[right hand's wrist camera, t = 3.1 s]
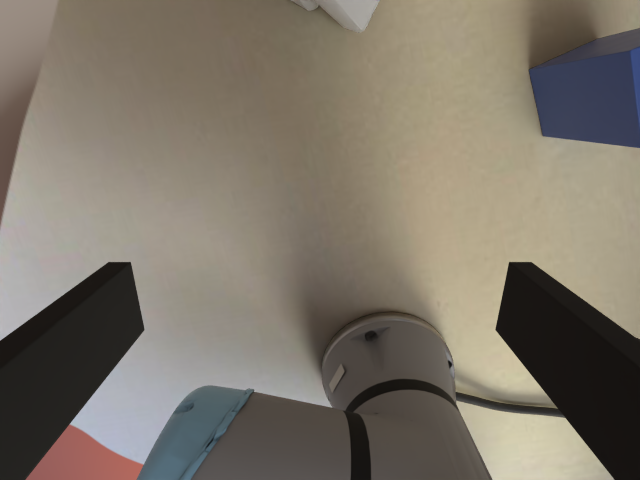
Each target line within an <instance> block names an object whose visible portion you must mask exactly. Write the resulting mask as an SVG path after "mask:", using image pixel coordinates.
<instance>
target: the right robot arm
mask: <svg viewBox="0 0 640 480" xmlns="http://www.w3.org/2000/svg"><path fill="white" fill-rule="evenodd" d="M143 331H144V325H143V320H142V315H141V310H140V305H139V300H138V296H137V291H136V286H135V281H134V276H133V271H132V266H131V262H108V263H107V264H106V265H104V266H103V267H101V268H100V269H99V270H97V271H96V272H94V273H93V274H92V275H90V276H89V277H88V278H86V279H85V280H83V281H82V282H81V283H79V284H78V285H77V286H75V287H74V288H72V289H71V290H70V291H68V292H67V293H66V294H64V295H63V296H61V297H60V298H59V299H57V300H56V301H54V302H53V303H52V304H50V305H49V306H48V307H46V308H45V309H43V310H42V311H41V312H39V313H38V314H37V315H35V316H34V317H32V318H31V319H30V320H28V321H27V322H26V323H24V324H23V325H21V326H20V327H19V328H17V329H16V330H14V331H13V332H12V333H10V334H9V335H8V336H6V337H5V338H3V339H2V340H1V341H0V480H25V479H26V478H27V477H28V476H29V474H30V473H31V472H32V471H33V469H34V468H35V467H36V466H37V464H38V463H39V462H40V460H41V459H42V458H43V457H44V455H45V454H46V453H47V452H48V450H49V449H50V448H51V447H52V445H53V444H54V443H55V442H56V440H57V439H58V438H59V437H60V435H61V434H62V433H63V432H64V430H65V429H66V428H67V427H68V425H69V424H70V423H71V422H72V420H73V419H74V418H75V416H76V415H77V414H78V413H79V411H80V410H81V409H82V408H83V406H84V405H85V404H86V403H87V401H88V400H89V399H90V398H91V396H92V395H93V394H94V393H95V391H96V390H97V389H98V388H99V386H100V385H101V384H102V383H103V381H104V380H105V379H106V377H107V376H108V375H109V374H110V372H111V371H112V370H113V369H114V367H115V366H116V365H117V364H118V362H119V361H120V360H121V359H122V357H123V356H124V355H125V354H126V352H127V351H128V350H129V349H130V347H131V346H132V345H133V344H134V342H135V341H136V340H137V339H138V337H139V336H140V335H141V333H142V332H143ZM496 331H497V332H498V333H499V335H500V336H501V337H502V339H503V340H504V341H505V342H506V344H507V345H508V346H509V347H510V349H511V350H512V351H513V352H514V354H515V355H516V356H517V357H518V359H519V360H520V361H521V362H522V364H523V365H524V366H525V367H526V369H527V370H528V371H529V372H530V374H531V375H532V376H533V377H534V379H535V380H536V381H537V383H538V384H539V385H540V386H541V388H542V389H543V390H544V391H545V393H546V394H547V395H548V396H549V398H550V399H551V400H552V401H553V403H554V404H555V405H556V406H557V408H558V409H556V408H546V407H534V406H522V405H512V404H505V403H499V402H494V401H489V400H486V399H482V398H478V397H474V396H470V395H466V394H462V393H458V392H455V381H454V378H455V373H454V364H453V359H452V356H451V353H450V351H449V349H448V347H447V345H446V343H445V341H444V340H443V338H442V336H441V335H440V334H439V333H438V331H437V330H436V329H435V328H433V327H432V326H431V325H430V324H428V323H427V322H425V321H423V320H422V319H419V318H417V317H414V316H412V315H408V314H403V313H396V312H384V313H376V314H371V315H367V316H364V317H361V318H359V319H357V320H355V321H353V322H351V323H349V324H348V325H346V326H345V327H343V328H342V329H341V330H340V331H339V332H338V333H337V334H336V335H335V336H334V337H333V338H332V340H331V341H330V343H329V344H328V346H327V348H326V350H325V353H324V356H323V361H322V382H323V387H324V390H325V393H326V396H327V398H328V400H329V402H330V404H331V406H332V407H333V408H330V407H325V406H321V405H316V404H311V403H306V402H301V401H296V400H291V399H286V398H281V397H276V396H271V395H267V394H262V393H257V392H254V389H250V388H249V389H247V390H239V389H232V388H225V387H218V386H204V387H200V388H198V389H196V390H194V391H193V392H191V393H190V394H189V395H188V396H187V397H186V398H185V399H184V400H183V401H182V402H181V403H180V404H179V406H178V407H177V408H176V410H175V411H174V413H173V414H172V416H171V417H170V419H169V420H168V422H167V424H166V425H165V427H164V429H163V430H162V432H161V434H160V435H159V437H158V439H157V441H156V443H155V444H154V446H153V448H152V450H151V452H150V454H149V456H148V458H147V460H146V462H145V464H144V466H143V468H142V470H141V472H140V474H139V476H138V478H137V480H492V478H491V476H490V474H489V472H488V470H487V468H486V466H485V463H484V461H483V459H482V457H481V455H480V453H479V451H478V449H477V447H476V445H475V443H474V441H473V439H472V437H471V434H470V432H469V430H468V428H467V426H466V424H465V422H464V420H463V418H462V416H461V414H460V412H459V409H458V407H457V405H456V400H457V401H461V402H465V403H469V404H473V405H477V406H481V407H485V408H489V409H493V410H499V411H505V412H512V413H522V414H534V415H547V416H556V417H564V418H566V419H567V420H568V422H569V423H570V424H571V425H572V427H573V428H574V429H575V430H576V432H577V433H578V434H579V435H580V437H581V438H582V439H583V440H584V442H585V443H586V444H587V445H588V447H589V448H590V449H591V450H592V452H593V453H594V454H595V455H596V457H597V458H598V459H599V460H600V462H601V463H602V464H603V466H604V467H605V468H606V469H607V471H608V472H609V473H610V474H611V476H612V477H613V478H614V479H615V480H640V339H638V338H635V337H634V336H632V335H631V334H630V333H628V332H627V331H626V330H624V329H623V328H621V327H620V326H619V325H617V324H616V323H614V322H613V321H612V320H610V319H609V318H608V317H606V316H605V315H603V314H602V313H601V312H599V311H598V310H597V309H595V308H594V307H592V306H591V305H590V304H588V303H587V302H586V301H584V300H583V299H581V298H580V297H579V296H577V295H576V294H574V293H573V292H572V291H570V290H569V289H568V288H566V287H565V286H563V285H562V284H561V283H559V282H558V281H557V280H555V279H554V278H552V277H551V276H550V275H548V274H547V273H546V272H544V271H543V270H541V269H540V268H539V267H537V266H536V265H534V264H533V263H532V262H509V266H508V271H507V276H506V281H505V286H504V291H503V296H502V300H501V305H500V310H499V315H498V320H497V325H496Z"/></svg>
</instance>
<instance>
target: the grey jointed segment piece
mask: <svg viewBox="0 0 640 480" xmlns="http://www.w3.org/2000/svg"><path fill="white" fill-rule="evenodd" d="M291 1H293V2H294V3H296V4H298V5H299V6H301V7H303V8H304V9H306V10H308V11H311V10H314V9H316V8H318V6H320V7H322V8H323V9H324V10H325V11H326V12H327V13H328V14H329V15H330V16H331V17H332V18H333V19H335V20H336V21H337V22H338V23H339V24H340V25H341V26H342V27H343V28H346V29H349V30H352V31H355V32H358V33H360V32H362V31H364V30H365V29H366V27H367V25H368V23H369V21H370V19H371V17H372V15H373V13H374V11H375V9H376V7H377V5H378V3H379V1H380V0H291Z"/></svg>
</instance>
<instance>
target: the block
mask: <svg viewBox="0 0 640 480" xmlns="http://www.w3.org/2000/svg"><path fill="white" fill-rule="evenodd" d="M529 73H530V78H531V82H532V87H533V92H534V96H535V101H536V106H537V111H538V115H539V120H540V125H541V129H542V134H543V136H546V137H554V138H562V139H570V140H579V141H587V142H595V143H603V144H611V145H620V146H628V147H636V148H640V28H638V29H634V30H630V31H626V32H622V33H619V34H615V35H611V36H607V37H603V38H599V39H596V40H594V41H592V42H589V43H587V44H585V45H583V46H580V47H578V48H576V49H574V50H572V51H569V52H567V53H565V54H563V55H560V56H558V57H556V58H554V59H551V60H549V61H547V62H545V63H542V64H540V65H538V66H536V67H533V68H531V69H529Z"/></svg>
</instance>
